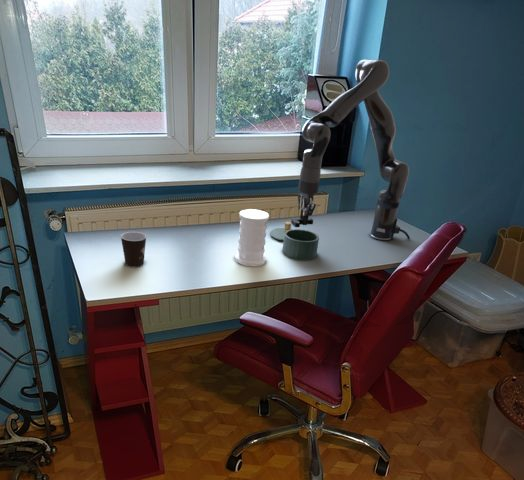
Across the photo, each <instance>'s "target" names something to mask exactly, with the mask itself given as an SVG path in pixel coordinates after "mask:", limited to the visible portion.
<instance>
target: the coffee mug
mask: <svg viewBox="0 0 524 480" xmlns="http://www.w3.org/2000/svg"><path fill="white" fill-rule="evenodd" d="M120 241H121V245H122V252H123V257H124V264H125V265H126V266H128V267H134V268H135V267H140V266H143V265H144V263H145V253H146V245H147V244H146V243H147V242H146V241H147V235H146V234H145V233H143V232H138V231H128V232H127V231H126V232H123V233H122V234H120Z"/></svg>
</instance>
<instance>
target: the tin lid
mask: <svg viewBox="0 0 524 480" xmlns="http://www.w3.org/2000/svg"><path fill="white" fill-rule="evenodd" d="M292 229H293V228H292V223H291V222H290V221H285V223H284V227H277V228H273V229H271V230H270V231H269V235H270V236H271V237H272V238H273V239H274V240H278V241H282V242H284V233H285V232H286V231H288V230H292Z"/></svg>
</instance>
